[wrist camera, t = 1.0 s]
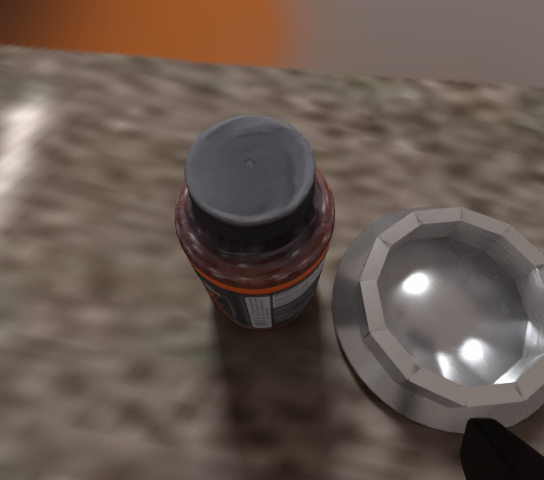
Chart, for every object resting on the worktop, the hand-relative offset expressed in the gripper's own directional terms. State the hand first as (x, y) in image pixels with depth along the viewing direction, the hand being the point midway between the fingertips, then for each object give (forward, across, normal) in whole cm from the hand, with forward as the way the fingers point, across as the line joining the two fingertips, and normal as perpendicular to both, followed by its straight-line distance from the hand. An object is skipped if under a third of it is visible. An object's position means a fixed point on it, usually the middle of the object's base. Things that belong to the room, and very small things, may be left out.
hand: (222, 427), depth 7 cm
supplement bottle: (+14, 0, +4) cm, 15 cm away
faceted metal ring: (+13, -10, +5) cm, 17 cm away
